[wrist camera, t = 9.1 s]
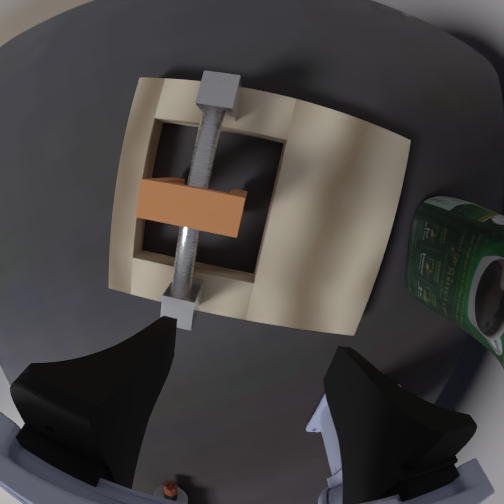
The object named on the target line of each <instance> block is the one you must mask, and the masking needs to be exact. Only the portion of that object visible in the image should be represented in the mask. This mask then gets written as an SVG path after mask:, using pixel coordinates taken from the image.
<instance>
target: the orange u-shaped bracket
mask: <svg viewBox="0 0 504 504" xmlns="http://www.w3.org/2000/svg"><path fill="white" fill-rule="evenodd" d="M184 184H185V179H181V178H175V177H169V178H149V179H141V182H140V188H139V195H138V202H137V209H136V217H137V218H142V219H147V220H152V221H157V222H162V223H167V224H172V225H177V226H182V227H187V228H192V229H197V230H201V231H206V232H211V233H216V234H221V235H225V236H230V237H235V238H237V234H238V231H239V227H240V223H241V219H242V215H243V210H244V206H245V201H246V196H247V192H248V191H244V190H239V189H234V190H232V191H231V192H229V193H226V192H221V191H216V190H211V189H205V188H200V187H195V186H189V185H184Z"/></svg>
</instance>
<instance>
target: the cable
mask: <svg viewBox="0 0 504 504" xmlns="http://www.w3.org/2000/svg"><path fill="white" fill-rule="evenodd" d="M153 496H156V497H160V498H164V499H168V500H172V501H177V502H182V503H188V497H187V494H186V493H185V491H183V490H182V489H181V488H179V487H177V485H176V484H174V481H171V482H169V481H166V483H165V484H164V485H162V486H160V487H158V488H156V490H155V491H154V495H153Z"/></svg>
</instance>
